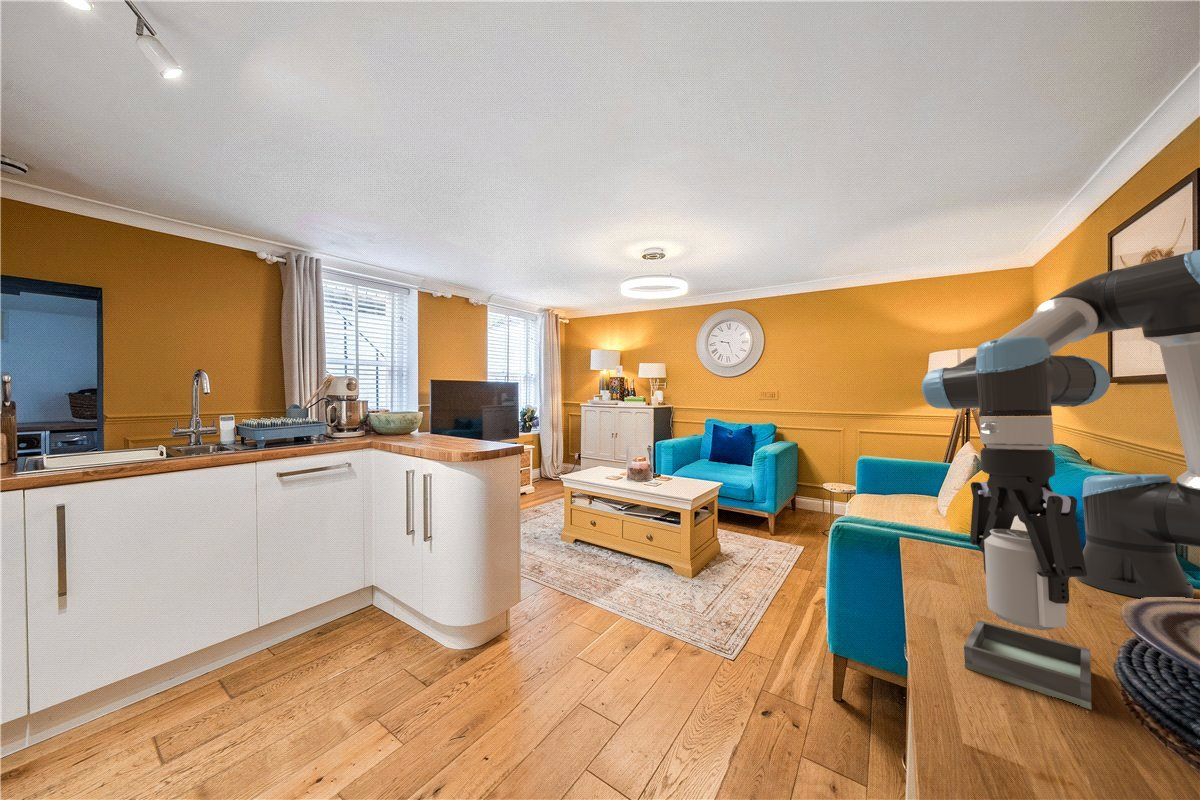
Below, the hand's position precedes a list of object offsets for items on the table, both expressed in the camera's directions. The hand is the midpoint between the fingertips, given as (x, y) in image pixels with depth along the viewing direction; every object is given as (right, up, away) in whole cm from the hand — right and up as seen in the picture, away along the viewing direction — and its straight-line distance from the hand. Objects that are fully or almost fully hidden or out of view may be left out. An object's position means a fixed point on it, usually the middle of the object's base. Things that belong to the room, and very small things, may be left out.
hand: (1024, 611), depth 59 cm
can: (0, -1, 0) cm, 1 cm away
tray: (0, -8, 0) cm, 8 cm away
